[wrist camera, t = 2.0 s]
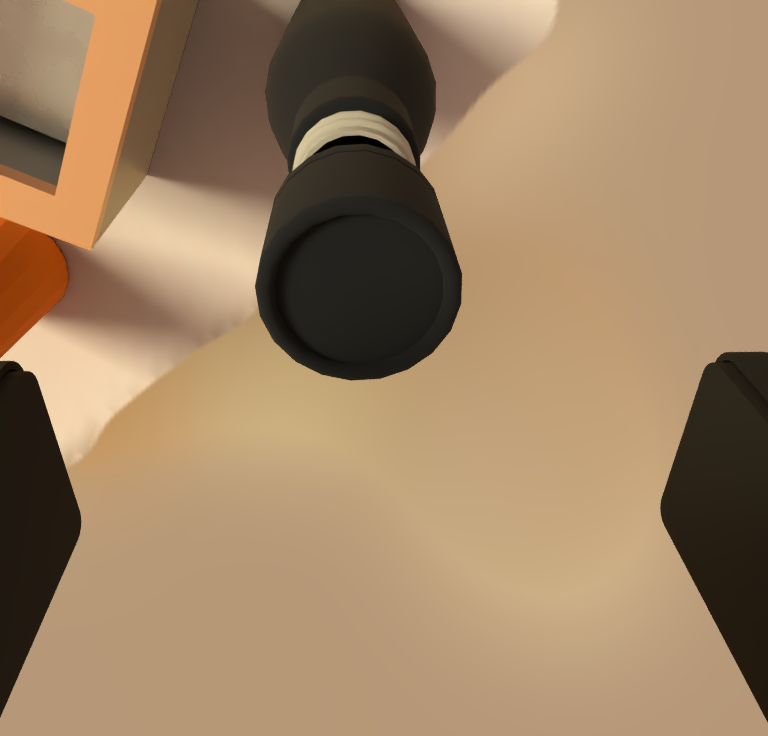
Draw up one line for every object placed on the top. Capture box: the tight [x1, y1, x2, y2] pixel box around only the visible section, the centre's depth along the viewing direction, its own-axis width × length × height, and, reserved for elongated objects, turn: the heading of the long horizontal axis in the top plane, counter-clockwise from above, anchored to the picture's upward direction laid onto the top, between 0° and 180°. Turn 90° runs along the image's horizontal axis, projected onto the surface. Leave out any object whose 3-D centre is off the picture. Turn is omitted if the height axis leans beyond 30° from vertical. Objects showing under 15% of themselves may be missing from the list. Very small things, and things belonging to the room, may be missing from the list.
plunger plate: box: [0, 0, 95, 143], centre depth 32 cm, size 7×7×1 cm
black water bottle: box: [255, 0, 462, 380], centre depth 25 cm, size 6×6×30 cm
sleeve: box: [0, 0, 198, 251], centre depth 32 cm, size 12×12×11 cm
